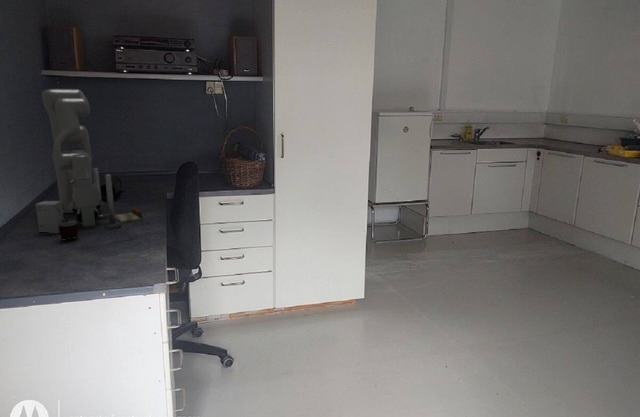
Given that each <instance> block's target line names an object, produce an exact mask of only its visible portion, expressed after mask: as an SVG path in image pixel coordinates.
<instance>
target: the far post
mask: <svg viewBox="0 0 640 417" xmlns="http://www.w3.org/2000/svg"><path fill="white" fill-rule="evenodd" d="M99 175H100V172H99V167H92V178H93V184H95V186H96V190H97V194H98V198H99V199H100V200H101V201H102V198H101V192H100V186H101V184H100V176H99ZM108 218H109V212H105V211H104V212H103V205H102V206H101V207H100V208H99V209H98V211H97V218H96V219H97V220H103V219H108Z"/></svg>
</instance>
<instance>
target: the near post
mask: <svg viewBox="0 0 640 417" xmlns="http://www.w3.org/2000/svg"><path fill="white" fill-rule="evenodd" d="M111 175H112V174H110V173H105V174H104V181H106V191H107V200H106V201H107V209H108V210H107V211H108V212H107V213H108V222H104V224H103V225H104V226H103V227H105V228H116V229H119V228H121V227H122V223H121V222H119V221H116V219H115V215H116V214H115V204H114V198H113V192H112V182H111ZM105 228H104V229H105Z"/></svg>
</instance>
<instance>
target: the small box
mask: <svg viewBox="0 0 640 417" xmlns="http://www.w3.org/2000/svg"><path fill="white" fill-rule="evenodd" d="M51 204H52V205H54V206H56V207H57V208H58V209H59V210H60V212H61V214H62V216H63V218H64V213H63V210H62V202H61V201H60V200H43V201H40V202H38V203H35V210H36V218H37V224H38V231H39V232H49V233H48V234H59V233H60V232H59V223H60V222H61V221H62V220H63V219H62V217H61V215H60V213H59V212H58V210H57V209H56V208H55V207H54V206H52V205H51ZM64 219H65V218H64ZM58 232H59V233H58Z"/></svg>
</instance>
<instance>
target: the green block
mask: <svg viewBox="0 0 640 417" xmlns="http://www.w3.org/2000/svg"><path fill="white" fill-rule="evenodd" d="M80 214H81V218H82V222H81V223H80V225H81V224H82V225H83V226H86V227H91V226H90V225H93V226H96V220H95V217H94V207H86V208H81V210H80ZM82 225H81V226H82ZM83 226H82V227H83Z"/></svg>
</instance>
